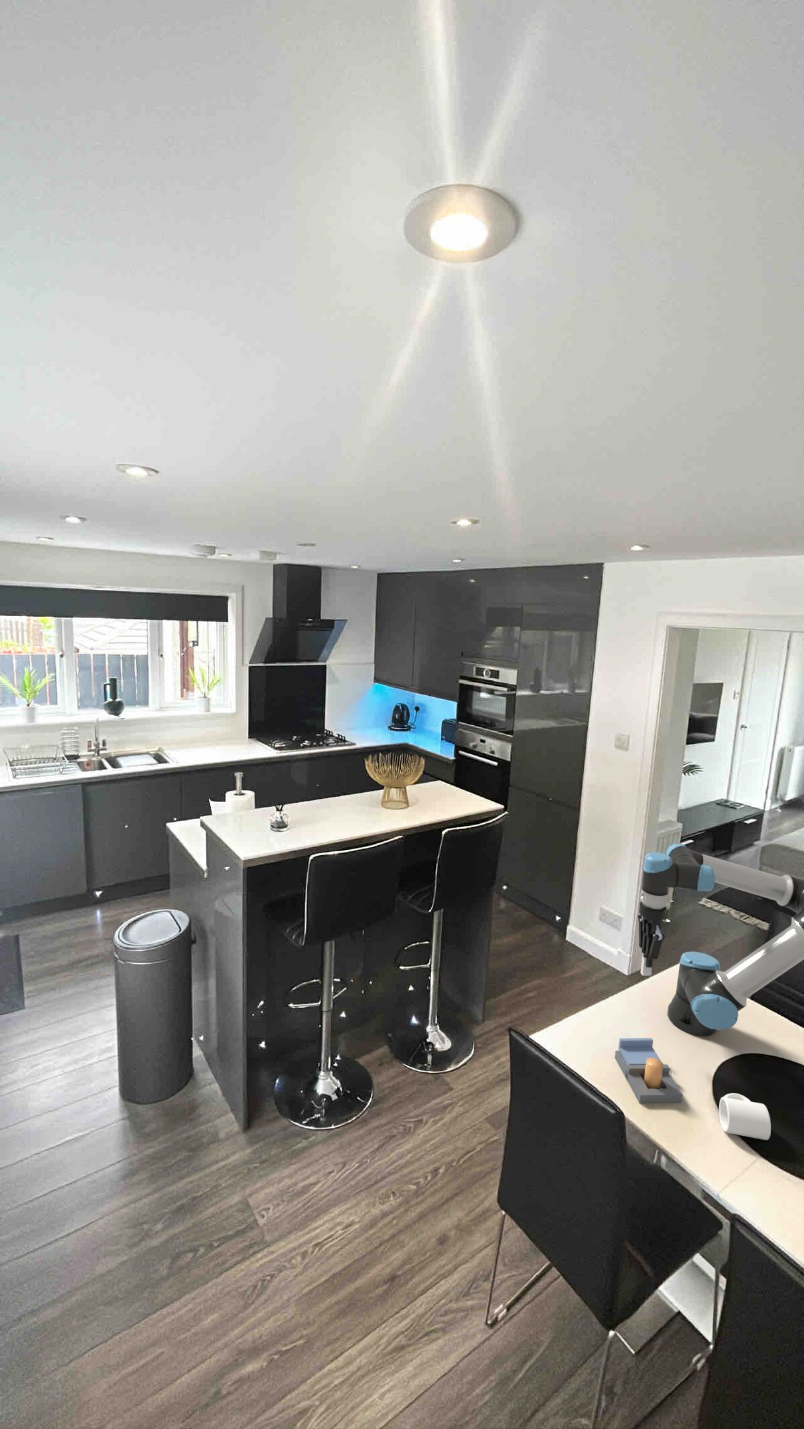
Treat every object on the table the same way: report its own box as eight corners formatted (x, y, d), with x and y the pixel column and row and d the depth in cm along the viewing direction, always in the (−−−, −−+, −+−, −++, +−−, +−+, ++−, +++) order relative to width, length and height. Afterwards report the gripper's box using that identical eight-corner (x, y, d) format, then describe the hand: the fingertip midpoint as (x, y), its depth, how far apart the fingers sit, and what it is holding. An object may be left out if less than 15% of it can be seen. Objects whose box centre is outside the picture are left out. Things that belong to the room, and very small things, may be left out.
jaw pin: (662, 1094, 174) (665, 1069, 172) (647, 1094, 173) (650, 1069, 172) (655, 1082, 178) (658, 1057, 176) (640, 1082, 178) (643, 1057, 176)
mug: (768, 1148, 158) (773, 1121, 156) (726, 1139, 160) (730, 1113, 158) (752, 1110, 169) (756, 1085, 168) (713, 1103, 171) (716, 1078, 170)
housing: (653, 1057, 188) (654, 1045, 187) (681, 1102, 171) (683, 1089, 170) (614, 1057, 187) (616, 1045, 186) (639, 1103, 170) (641, 1089, 169)
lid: (650, 1048, 188) (651, 1038, 187) (662, 1067, 180) (663, 1056, 179) (618, 1048, 187) (619, 1038, 186) (629, 1067, 179) (630, 1056, 179)
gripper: (631, 893, 194) (625, 962, 198) (651, 914, 181) (643, 987, 185) (655, 893, 194) (647, 961, 198) (676, 914, 181) (667, 987, 186)
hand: (645, 974), depth 192 cm, fingers closed
